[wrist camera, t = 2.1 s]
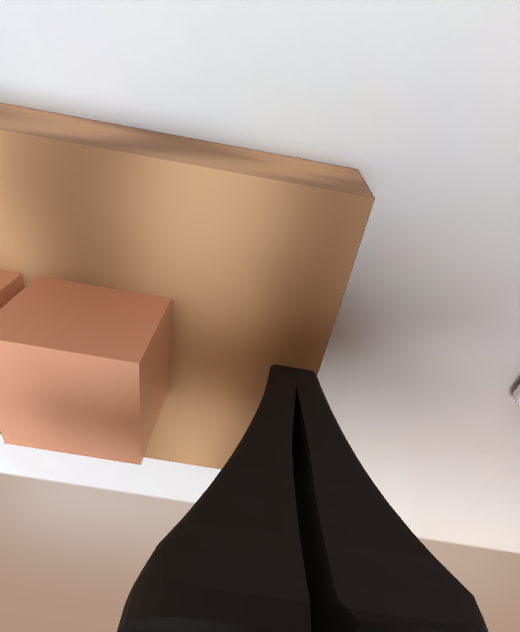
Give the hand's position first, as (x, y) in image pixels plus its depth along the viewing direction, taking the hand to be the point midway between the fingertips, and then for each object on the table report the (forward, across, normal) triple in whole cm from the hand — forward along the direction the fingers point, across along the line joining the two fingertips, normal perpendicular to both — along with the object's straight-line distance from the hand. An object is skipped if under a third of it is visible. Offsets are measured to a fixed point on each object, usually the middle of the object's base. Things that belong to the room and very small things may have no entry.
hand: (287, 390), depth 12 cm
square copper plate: (+4, +6, 0) cm, 7 cm away
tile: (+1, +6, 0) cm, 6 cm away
